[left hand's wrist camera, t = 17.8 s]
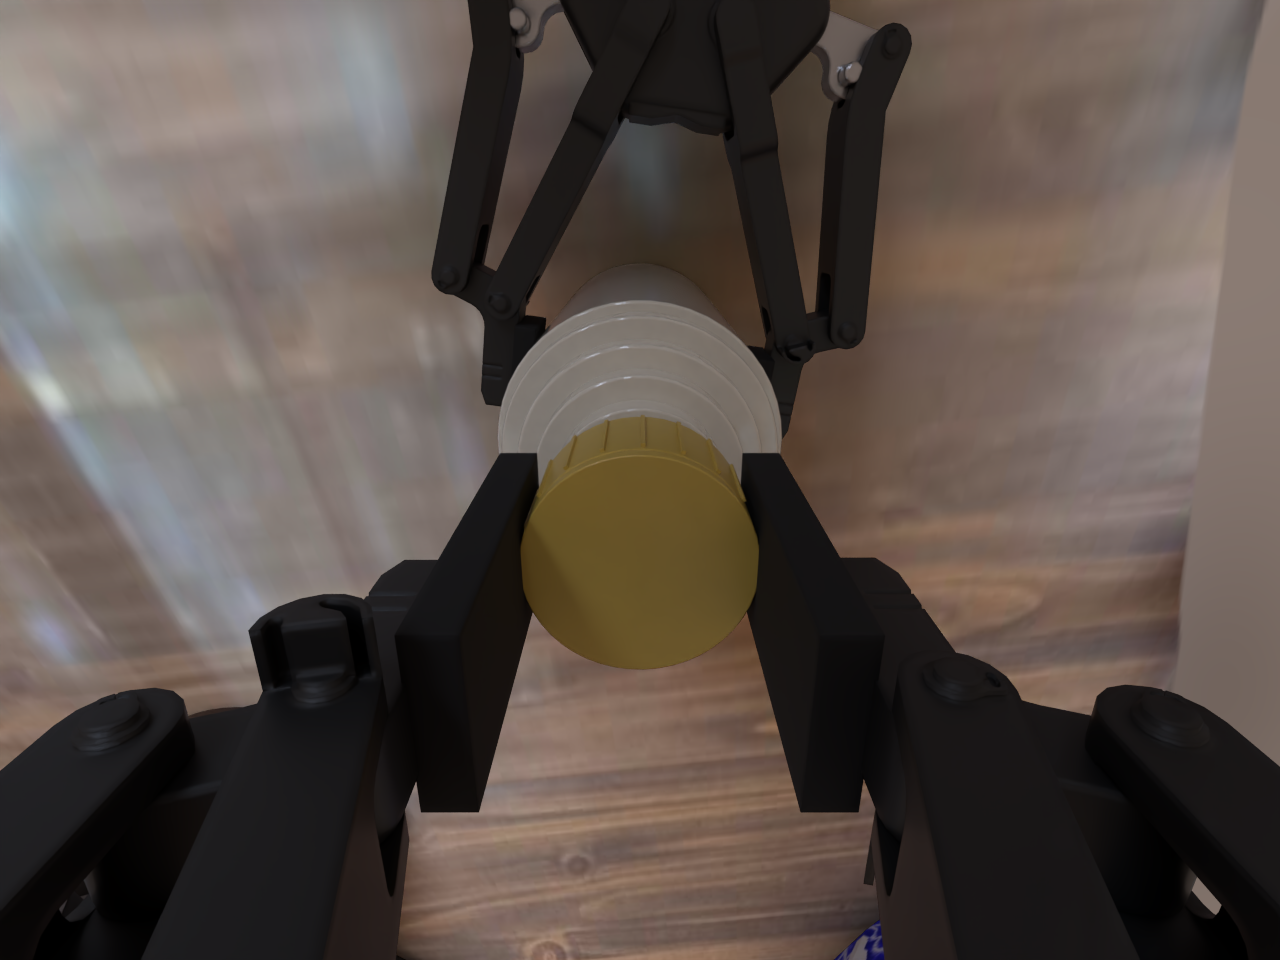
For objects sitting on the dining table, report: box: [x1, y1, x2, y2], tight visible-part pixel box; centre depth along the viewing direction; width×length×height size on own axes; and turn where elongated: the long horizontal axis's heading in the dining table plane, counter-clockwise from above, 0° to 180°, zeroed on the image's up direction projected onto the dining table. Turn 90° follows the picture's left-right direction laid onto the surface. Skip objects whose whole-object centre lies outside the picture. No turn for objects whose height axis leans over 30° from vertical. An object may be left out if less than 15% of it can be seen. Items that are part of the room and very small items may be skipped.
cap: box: [520, 415, 759, 669], centre depth 13 cm, size 4×4×2 cm
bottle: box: [498, 263, 782, 487], centre depth 22 cm, size 8×8×20 cm
